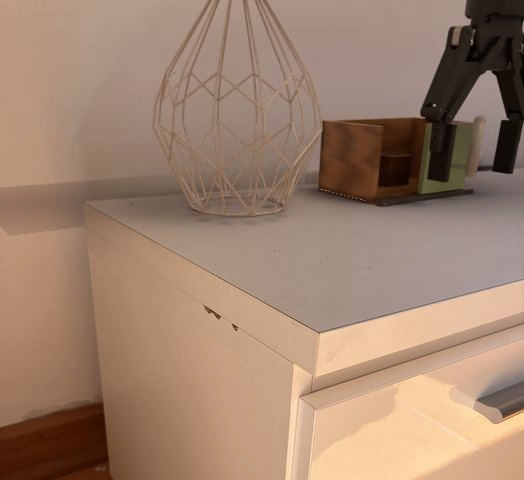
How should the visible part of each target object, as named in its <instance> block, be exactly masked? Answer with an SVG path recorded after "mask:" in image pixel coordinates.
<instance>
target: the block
mask: <svg viewBox="0 0 524 480" xmlns="http://www.w3.org/2000/svg"><path fill="white" fill-rule="evenodd" d="M411 159H412V155H410V154H403V153H397V152H381V157H380V167H379V177H378V185H380V186H384V187H395V186H403V185H408V184H409V176H410V168H411Z"/></svg>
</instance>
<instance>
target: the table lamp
mask: <svg viewBox="0 0 524 480" xmlns="http://www.w3.org/2000/svg"><path fill="white" fill-rule="evenodd" d="M212 1H213V0H207V1H206V2H205V4H204V6H203V8H202V9H201V11H200V12H199V14H198V16H197V17H196V19H195V21H194V23H193V24H192V26H191V27H190V29H189V31H188V33H187V34H186V36H185V38H184V39H183V41H182V43H181V44H180V46H179V48H178V49H177V50H176V53H175V54H174V56H173V58H172V59H171V61H170V62H169V64H168V66H167V67H166V69H165V71H164V75H163V76H162V77H163V78H162V80H161V83H160V86H159V89H158V92H157V95H156V98H155V101H154V105H153V116H152V130H153V132H154V134H155V136H156V138H157V140H158V142H159V144H160V147H161V149H162V151H163V153H164V155H165V157H166V159H167V162H168V163H169V166H170V168H171V170H172V172H173V174H174V176H175V178H176V180H177V182H178V184H179V186H180V188H181V190H182V192H183V194H184V196H185V198H186V201H187V202H188V204H189V206H190V209H193V210H196V211H198V212H201V213H202V214H210V215H217V216H224V217H255V216H262V215H269V214H270V215H272V214H275V213H278V212H280V211H283V210H285V209H286V207H287V206H288V203H289V201H290V199H291V197H292V195H293V193H294V191H295V189H296V187H297V185H298V183H299V181H300V180H301V179H300V178H301V177H302V175H303V172H304V171H305V169H306V167H307V165H308V163H309V161H310V158H311V156H312V154H313V152H314V149H315V148H316V146H317V143H318V141H319V139H320V138H321V132H322V130H323V129H322V120H323V119H322V118H323V117H322V109H321V104H320V100H319V97H318V95H317V91H316V88H315V85H314V82H313V79H312V76H311V74H310V72H309V70H308V68H307V66H306V64H305V62H304V61H303V60H302V58H301V56H300V54H299V52H298V51H297V49H296V48H295V46H294V45H293V43H292V41H291V39H290V37H289V35H288V34H287V32H286V31H285V29H284V27H283V26H282V23H281V22H280V21H279V19H278V17H277V15H276V13H275V11H274V10H273V8H272V7H271V4H270V3H269V1H268V0H254V3H255V5H256V8H257V10H258V13H259V15H260V17H261V20H262V24H263V26H264V29H265V31H266V33H267V34H266V35H267V36H268V39H269V41H270V43H271V46H272V49H273V51H274V54H275V57H276V60H277V62H278V64H279V68H280V69H281V72H282V75H283V79H284V82H283V84H281V86H280V87H279V88H278V89H275V88H274V87H273V86H272V85H270V84H269V83H268V82H267V81H266V80H264V78H262V74H261V68H260V63H259V62H260V61H259V57H258V52H257V47H256V40H255V35H254V30H253V29H254V28H253V25H252V18H251V13H250V7H249V2H248V0H242V4H243V12H244V20H245V26H246V33H247V40H248V48H249V55H250V61H251V62H250V63H251V70H252V73H251V74H250V75H248V76H247V77H246V78H244V79H243V80H242V81H240V82H239V83H238V84H237V85H235V84H234V83H233V82H232V81H231V80H229V79H228V78H227V77H226V76H225V75H223V74H222V72H223V65H224V57H225V50H226V43H227V37H228V29H229V23H230V15H231V10H232V9H231V8H232V0H228V1H227V6H226V14H225V19H224V20H225V21H224V24H223V25H224V26H223V32H222V37H221V44H220V49H219V56H218V61H217V68H216V71H215V72H214V73H213V74H212V75H210V76H208V78H207V79H205V80H204V81H203V82H202V81H201V80H200V79H199V78H198V77H197V76H196V75H195V74H194V73H193V69H194V67H195V64H196V62H197V60H198V56H199V54H200V52H201V49H202V47H203V44H204V41H205V39H206V36H207V34H208V31H209V29H210V26H211V25H212V21H213V19H214V16H215V14H216V12H217V9H218V6H219V4H220V1H221V0H214V1H213V3H212ZM211 3H212V5H211ZM210 5H211V7H210ZM264 6H265V7H264ZM209 7H210V9H209ZM265 8H266V9H265ZM208 9H209V12H208V14H207V16H206V18H205V20H204V22H203V25H202V27H201V29H200V31H199V34H198V36H197V38H196V39H195V43H194V44H193V47H192V49H191V51H190V53H189V55H188V58H187V60H186V62H185V64H184V66H183V68H182V70H181V74H180V78H179V81H178V83H176V84H175V85H174V86H173V88H172V86H171V82H170V81H171V80H170V77H171V74H172V72H173V70H174V68H175V66H177V63H178V61H179V59H180V58H181V56H182V54H183V53H184V51H185V49H186V47H187V45H188V44H189V42H190V40H191V38H192V37H193V35H194V33H195V31H196V30H197V28H198V26H199V25H200V23H201V21H202V19H203V17H204V16H205V14H206V13H207V10H208ZM266 10H267V11H268V13H269V15H270V17H271V18H272V19H271V20H272V21H273V22H274V24H275V27H276V28H277V29H278V32H279V33H280V35H281V36H282V39H283V40H284V42H285V44H286V45H287V47H288V49H289V51H290V53H291V55H292V57H293V58H294V60H295V61H296V63H297V66H298V67H299V69H300V71H301V73H302V76H301V78H298V76H297V75H296V73H295V72H294V69H293V67H292V65H291V63H290V61H289V58H288V56H287V54H286V52H285V50H284V47H283V46H282V44H281V41H280V39H279V36H278V35H277V32H276V30H275V28H274V26H273V24H272V21H271V20H270V17H269V15H268V13H267V11H266ZM265 19H266V20H265ZM266 21H267V23H268V24H267V23H266ZM267 25H269V27H270V29H271V31H272V32H271V33H272V34H273V36H274V39H275V40H276V42H277V44H278V47H279V49H280V51H281V53H282V55H283V58H284V60H285V61H286V62H285V63H286V65H287V66H288V68H289V71H290V75H289V77H288V78H287V76H286V72H285V69H284V67H283V64H282V61H281V59H280V56H279V54H278V52H277V48H276V46H275V44H274V41H273V38H272V35H271V33H270V30H269V28H268V26H267ZM205 28H206V29H205ZM204 30H205V31H204ZM203 32H204V33H203ZM202 34H203V36H202ZM201 37H202V39H201ZM200 39H201V40H200ZM199 41H200V44H199V46H198V49H197V52H196V54H195V56H194V59H193V61H192V64H191V66H190V69H189V71H188V72H187V73H186V74H185V71H186V69H187V67H188V65H189V62H190V61H191V59H192V56H193V54H194V52H195V49H196V47H197V45H198V43H199ZM251 41H252V42H251ZM251 43H252V44H251ZM252 48H253V50H252ZM253 53H254V57H253ZM254 58H255V63H256V69H257V73H256V72H255V63H254ZM191 76H192V77H193V78H194V79H195V80H196V81H197V82H198V83H199V85H198V86H197V87H195V88H194V89H193V90H192V91H190V92H189V93H188V89H189V85H190V80H191ZM251 77H252V78H253V79H252V80H253V90H254V99H252V98H251V97H250V96H249V95H248V94H247V93H245V92H244V91H243V90H242V89H240V86H241V85H243V84H244V83H245V82H246V81H247V80H249V79H250V78H251ZM213 78H215V84H214V92H212V91H211V90H210V89H209V88H207V86H206V84H207V83H209V82H210V81H211V80H212V79H213ZM256 78H257V79H258V84H259V85H258V86H259V94H260V104H261V105H260V104H259V103H258V95H257V82H256ZM186 79H187V81H186V84H185V90H184V94H183V97H182V98H181V99H180V100H179V101H178V98H179V94H180V90H181V86H182V84H183V82H184V81H185V80H186ZM222 79H223V80H224V81H225V82H226V83H228V84H229V85H230V86H231V87H232V88H231V89H230V90H229V91H227V92H226V93H225V94H224V95H222V96H221V84H222ZM291 79H293V82H294V86H295V91H294V92H293V94H292V97H291V94H290V89H289V85H288V83H289V81H291ZM303 80H305V83H306V86H307V87H306V86H305V84H304V83H303ZM262 83H264V84H265V85H266V86H267V87H269V88H270V89H271V90H272V91H273V92H275V93H274V94H273V95H272V96H271V97H270V99H269V100H268V101H267V102H266V104H265V103H264V94H263V84H262ZM300 87H302V88H303V90H304V91H305V92H306V93H307V94H308V96H309V97H310V99H311V102H312V106H313V107H312V108H313V118H314V119H313V121H314V127H313V130H312V132H311V133H310V137H309V139H308V141H307V143H306V145H305V148H304V149H303V151H302V149H301V145H302V142H303V140H304V138H305V137H304V136H305V134H306V125H305V123H306V122H305V110H304V109H305V108H304V105H303V101H302V98H301V93H300V90H299V89H300ZM167 88H168V90H169V92H167V93H166V90H167ZM201 88H204V89H205V91H207V92H208V94H209V95H210V96H211V97H212V98H213V103H212V104H213V105H212V126H211V127H210V128H209V130H207V132H206V134H205V135H204V136H203V137H202V139H201V140H200V141H199V142H198V143H197V145H196V147H194V146H193V145H192V144H191V141H190V137H189V134H188V131H187V128H186V124H185V107H186V106H185V105H186V100H187V99H189V98H190V97H191V96H192V95H193V94H195V93H196V92H197V91H199V90H200V89H201ZM284 88H286V94H287V97H286V96H285V95H283V94H282V93H280V92H281V91H282V90H283V89H284ZM176 89H177V90H176ZM175 90H176V94H175V97H174V95H173V92H174V91H175ZM235 90H236V91H237V92H239V93H240V94H241V95H242V96H244V97H245V98H246V99H247V100H248V101H250V102H251V103H252V104H253V105H254V106H255V107H254V109H255V123H254V134H253V140H252V141H251V142H250V143H249V144H246V142H245V141H243V140H242V139H241V138H240V137H239V136H238V135H237V134H236V133H234V132H233V131H232V130H231V129H230V128H229V127H228V126H227V125H225V124H224V123H223V122H222V121H221V120H220V102H221V101H222V100H223V99H224V98H226V96H228V95H230V94H231V93H232V92H234V91H235ZM165 93H166V95H165ZM187 93H188V94H187ZM213 93H214V94H213ZM296 95H297V98H298V102H299V106H300V110H301V111H300V112H301V123H302V126H301V127H302V134H301V137H300V140H299V139H298V136H297V132H296V129H295V125H294V122H293V106H292V103H293V102H294V99H295V97H296ZM169 96H170V100H171V105H172V117H171V131H169V130H168V129H167V128H166V127H165V126H164V125H162V124H161V118H162V117H161V116H162V103H163V102H164V101H165V100H166V99H167V98H168V97H169ZM220 96H221V97H220ZM277 96H279V97H281V98H282V99H283V100H284V101H286V102H287V103H288V104H289V115H290V116H289V117H290V122H289V123H287V124H286V125H285V126H284V127H282V128H281V129H280V130H279V131H277V132H276V133H274V134H273V135H272V136H270V137H269V136H267V134H266V123H265V121H266V120H265V110H266V109H267V108H268V107H269V105H270V104H272V102H273V101H274V99H276V97H277ZM177 101H178V102H177ZM158 102H159V105H158ZM181 104H182V109H181V110H182V111H181V123H182V126H183V130H184V133H185V137H186V139H185V138H184V137H182V136H181V135H180V134H179V133H178V132H176V131H175V119H176V117H175V116H176V108H177V107H178V106H180V105H181ZM216 105H217V107H216ZM157 106H158V107H159V108H158V119H157V126H158V129H159V133H160V136H161V138H160V136H159V133H158V131H157V128H156V126H155V125H156V114H157ZM316 106H317V107H318V117H319V119H318V120H319V128H320V129H319V130H318V131H317V133H316V134H315V131H316V129H317V126H318V121H317V109H316V108H317V107H316ZM258 109H259V110H260V111H261V124H262V126H261V127H262V129H261V130H262V134H260V135H259V136H258V137H257V129H258ZM216 114H217V115H216ZM220 124H221V126H223V127H224V128H225V129H226V130H227V131H228V132H230V133H231V135H232V136H234V137H235V138H236V139H237V140H238V141H239V142H240V143H241V144H243V145H244V146H245V147H244V148H242V150H240V151H238V153H236V154H235V155H233V156H232V158H230V159H228V160H227V161H226V162H225V163H224V156H223V155H224V153H223V147H222V146H223V145H222V135H221V127H220ZM216 125H217V132H218V141H219V151H220V160H221V166H220V160H219V154H218V147H217V139H216ZM287 128H288V130H287V134H286V138H285V142H284V145H283V149H282V151H281V152H280V151H279V149H278V148H277V147H276V146H275V144H274V143H273V141H271V140H272V139H274V138H275V137H277V136H278V135H279V134H280V133H281V132H283V131H284V130H286V129H287ZM291 130H292V131H293V134H294V138H295V142H296V145H297V148H296V151H295V152H294V156H293V159H292V161H291V164H290V163H289V161H288V160H287V159H286V157H284V155H285V152H286V148H287V145H288V140H289V136H290V133H291ZM211 131H212V139H213V145H214V154H215V161H216V165H215V164H214V163H213V162H212V161H211V160H209V159H208V158H207V157H206V156H205V155H204V154H202V153H201V151H199V150H198V148H199V147H200V146H201V144H202V143H203V142H204V140H206V138H207V137H208V135H209V134H210V133H211ZM165 132H166V133H167V134H168V135H169V136H170V143H169V141H168V139H167V137H166V134H165ZM314 134H315V136H314ZM313 136H314V137H313ZM260 139H261V142H260V143H261V144H260V145H259V146H257V148H256V143H257V142H258V141H259V140H260ZM173 141H175V144H176V147H177V149H178V152H179V155H180V158H181V160H182V163H183V166H184V169H185V171H186V174H187V176H188V179H189V181H190V184H191V189H190V188H189V186H188V184H187V182H186V180H185V178H184V175H183V173H182V171H181V169H180V166H179V164H178V162H177V161H176V158H175V156H174V153H173ZM267 143H268V144H270V146H271V147H272V148H273V150H274V151H275V152H276V153H277V154H278V156H279V157H280V159H279V163H278V165H277V169H276V172H275V175H274V179H273V182H272V185H271V189H270V191H268V187H267V185H266V181H265V179H264V176H263V173H262V169H261V165H262V158H263V151H264V146H265V145H266V144H267ZM185 144H186V145H187V146H188V147H189V148H188V147H187V146H186V145H185ZM180 146H181V147H183V148H184V149H185V150H186V151H188V152H189V153H190V155H191V156H190V157H191V174H190V171H189V168H188V166H187V163H186V161H185V158H184V155H183V153H182V149H181V147H180ZM251 147H252V148H251ZM259 149H260V150H259ZM247 150H249V151H250V152H251V154H250V155H249V157H248V158H247V160H246V162H245V164H244V165H243V167H242V168H241V169H240V172H239V173H238V175H237V176H236V178H235V180H234V181H233V183H232V184H231V183H230V181H229V180H228V179H227V177H226V173H225V167H227V166H228V165H229V164H230V163H232V162H233V161H234V160H235V159H237V158H238V157H239V156H240V155H242V154H244V152H245V151H247ZM258 150H259V158H257V155H256V152H257V151H258ZM309 151H310V152H309ZM195 153H196V154H197V155H198V156H200V157H201V158H202V159H204V160H205V161H206V162H207V163H208V164H209V165H211V167H213V168H214V169H215V170H216V174H215V176H214V177H213V176H212V175H211V173H210V172H209V171H208V170H207V168H206V167H205V165H204V164H203V163H202V162H201V161H200V160H199V158H198V157H197V156H196V154H195ZM298 153H299V156H298ZM307 154H308V155H307ZM297 156H298V157H297ZM306 156H307V158H306V160H305V162H304V165H303V167H302V169H301V166H302V163H303V160H304V158H305V157H306ZM172 160H173V162H174V164H175V166H176V167H175V166H174V164H173V163H172ZM250 160H251V165H250V173H249V182H248V183H249V184H248V193H247V195H251V189H252V181H253V179H252V178H253V171H254V170H253V169H254V162H255V164H256V166H257V171H256V178H255V184H254V189H253V190H254V191H253V195H251V196H239V195H240V194H239V193H238V192H237V191H236V190H235V188H234V186H235V185H236V183H237V181H238V180H239V178H240V177H241V175H242V173H243V172H244V170H245V169H246V167H247V166H248V163H249V162H250ZM254 160H255V161H254ZM282 161H284V163H285V164H286V165H287V166H288V167H289V168H288V169H287V170H286V171H285V172H284V174H283V175H282V176H281V177H280V178H279V180H278V181H277V177H278V174H279V171H280V168H281V165H282ZM198 164H199V165H200V167H201V168H202V169H203V170H204V171H205V172H206V175H208V176H209V178H210V180H212V181H213V182H212V185H211V187H210V190H209V192H208V196H207V193H206V189H205V187H204V183H203V180H202V177H201V173H200V170H199V167H198ZM194 167H195V168H194ZM194 169H196V170H195V171H196V173H197V176H198V180H199V182H200V185H201V188H202V193H203V196H204V197H202V198H200V196H199V194H198V191H197V189H196V187H195V180H194V179H195V173H194V172H195V171H194ZM300 169H301V171H300ZM221 170H222V171H221ZM294 171H295V172H294ZM299 171H300V173H299ZM293 172H294V174H293V176H292V173H293ZM298 174H299V175H298ZM291 176H292V178H291ZM222 178H223V181H222ZM260 178H261V181H262V184H263V187H264V190H265V193H266V196H264V197H265V198H261V197H262V196H259V197H256V196H257V191H258V184H259V179H260ZM217 179H218V181H219V183H218V182H217ZM276 181H277V183H276ZM275 183H276V184H275ZM215 185H216V186H217V188H218V189H219V190H220V193H221V196H222V197H214V196H215V195H214V196H211V195H212V192H213V189H214V187H215ZM227 185H228V186H229V190H228V189H227ZM223 186H224V187H223ZM285 187H286V192H285V194H284V196H283V199H282V201H281V197H282V195H283V193H284V190H285ZM223 188H224V190H223ZM280 188H281V189H280ZM279 189H280V192H279V195H278V197H277V199H275V198H273V197H274V195H275V194H276V193H277V192H278V190H279ZM231 192H233V193H234V195H236V196H224V195H230V193H231ZM252 196H254V197H252ZM207 197H208V198H207ZM210 197H213V198H210ZM204 198H206V199H204ZM220 198H221V200H222V207H223V212H216V211H215V212H214V211H208V210H206V209H207V207H208V203H209V201H210V200H211V199H220ZM225 198H238V200H239V201H240V203H241V204H242V205H243V206H244V208H245V209H246V211H247V212H248V213H227V209H226V202H225ZM242 198H252V204H251V210H250V209H249V207H248V206H247V205H246V204H245V202H244V200H243V199H242ZM269 198H271V199H269ZM201 199H202V200H201ZM256 199H261V200H262V201H261V202H260V203H258V205H257V207H255V204H256ZM272 199H274V200H272ZM205 200H206V201H205ZM266 200H270V201H272V202H275V206H274V208H273V209H272V211H265V212H257V211H258V210H259V209H260V207H262V205H263V204H264V203H265V201H266ZM275 200H277V201H275ZM194 201H195V202H194ZM203 201H205V203H204V206H203V204H202V202H203ZM279 201H281V202H279ZM283 202H284V204H283ZM192 203H193V204H194V205H193V204H192ZM195 204H196V205H197V206H198V207H195ZM279 204H281V206H282V207H279V208H278V209H277V207H278V205H279ZM282 204H283V205H282ZM284 207H285V208H284ZM282 208H283V209H282Z"/></svg>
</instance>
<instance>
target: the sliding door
mask: <svg viewBox="0 0 524 480" xmlns="http://www.w3.org/2000/svg"><path fill="white" fill-rule="evenodd" d="M486 121H487V120H486V118H485V116H483V115H477V116H475V117H474V118H473V121H467V122H458V124H456V125H457V129H456V135H455V142H454V148H453V155H452V162H451V168H450V175H449V181H448V182H446V183H443V182H438V181H433V180H427V175H428V167H429V160H430V153H431V152H430V150H429V145H430V139H431V130H432V125H426V130H425V137H424V145H423V153H422V160H421V168H420V176H419V183H418V191H417V193H418V194H421V195H422V194H429V193H436V192H443V191H450V190H457V189H463V188H465V181H466V178H469V179H472V178H475V176H476V175H477V173H478V168H479V161H480V156H481V150H482V145H483V139H484V133H485V128H486V127H485V126H486ZM471 122H473V123H471Z"/></svg>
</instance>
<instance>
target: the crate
mask: <svg viewBox="0 0 524 480" xmlns="http://www.w3.org/2000/svg"><path fill="white" fill-rule="evenodd" d="M458 122H468V121H464V120H454V119H453V121H452V122H451V123H450V124H458ZM470 122H471V123H473V121H470ZM426 125H432V123H431V122H426V121H425V117H421V116H420V117H419V116H404V117H403V116H402V117H401V116H400V117H380V118H379V117H376V118H352V119H350V118H348V119H324V120H323V119H322V129H323V130H322V132H321V135H320V148H319V164H318V182H317V183H318V184H317V187H318V188H319V189H318V188H317V190H318V191H320V192H323V193H324V192H325V193H328V194H331V195H336V196H339V197H344V198H348V199H352V200H355V201H360V202H364V203H367V204H371V205H372V204H374V205H375V206H379V207H386V206H387V207H388V206H394V205H401V204H407V203H414V202H422V201H428V200H434V199H441V198H447V197H454V196H463V195H467V194H474V192H475V188H473V187H468V186H464V188H463V189H457V190H450V191H443V192H436V193H429V194H422V195H421V194H418V193H417V191H418V183H419V176H420V168H421V160H422V153H423V145H424V137H425V130H426ZM381 152H397V153H403V154H410V155H412V159H411V168H410V176H409V184H408V185H403V186H395V187H384V186H380V185H378V177H379V167H380V157H381ZM320 189H323V190H320ZM324 190H327V191H324ZM328 191H330V192H328ZM332 192H334V193H332ZM336 193H338V194H336ZM340 194H342V195H340ZM344 195H345V196H344ZM348 196H349V197H348ZM352 197H353V198H352ZM356 198H357V199H356ZM360 199H362V200H360ZM364 200H365V201H364ZM385 204H386V205H385Z"/></svg>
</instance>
